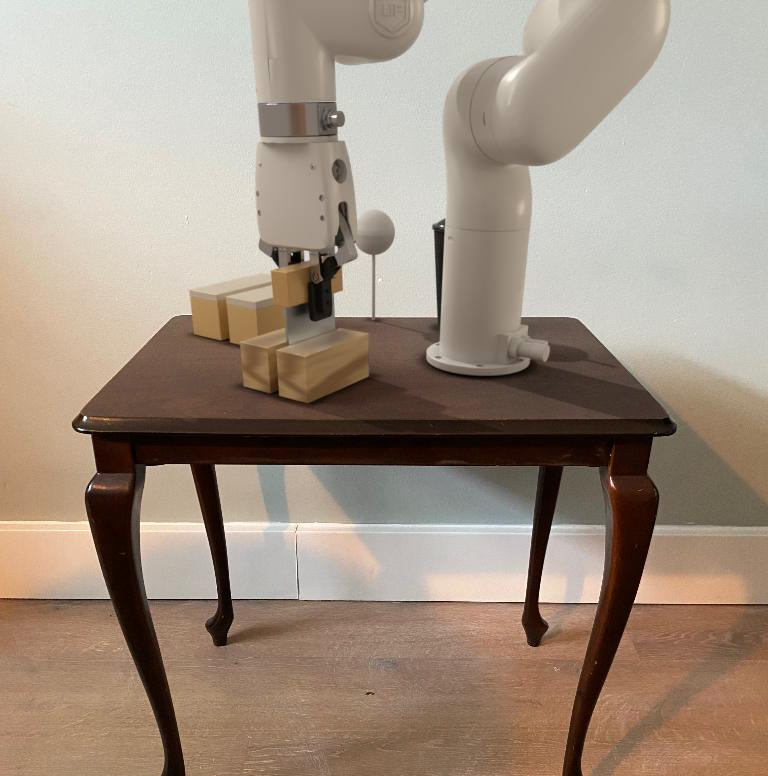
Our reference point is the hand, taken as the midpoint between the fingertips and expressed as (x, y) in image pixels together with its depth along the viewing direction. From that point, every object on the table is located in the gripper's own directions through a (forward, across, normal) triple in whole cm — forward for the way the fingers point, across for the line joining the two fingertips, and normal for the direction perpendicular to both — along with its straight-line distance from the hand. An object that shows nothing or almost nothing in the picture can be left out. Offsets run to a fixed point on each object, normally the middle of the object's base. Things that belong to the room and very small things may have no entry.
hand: (310, 315), depth 79 cm
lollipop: (+8, +10, -26) cm, 29 cm away
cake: (+7, +20, -12) cm, 24 cm away
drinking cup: (+8, -2, -29) cm, 30 cm away
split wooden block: (+7, 0, +1) cm, 7 cm away
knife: (+6, 0, 0) cm, 6 cm away
